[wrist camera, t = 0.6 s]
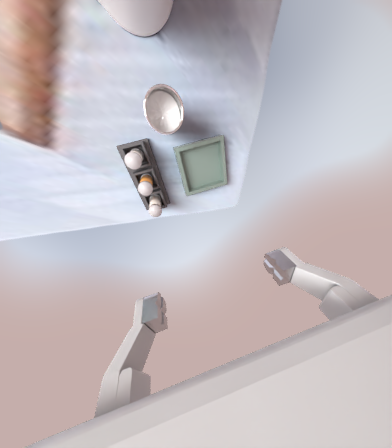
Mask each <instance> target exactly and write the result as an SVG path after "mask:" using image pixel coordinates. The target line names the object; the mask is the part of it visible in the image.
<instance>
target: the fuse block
mask: <svg viewBox="0 0 392 448" xmlns="http://www.w3.org/2000/svg"><path fill="white" fill-rule="evenodd" d="M116 147H117V149H118V151H119V153H120V155H121V157H122V159H123V161H124V164H125V160H124V159H125V156H126V154H127V153H129V152H130V151H131V150H132V149H134V148H138V149H140V150H141V151H142V152H143V154H144V159H143V161H142V164H141V166H140V168H138V169H131V168H129V167H128V166H127V165H126V164H125V166H126V168H127V170H128V172H129V174H130V176H131V178H132V180H133V182H134V184H135V186H136V189H137V191H138V186H139V183H140V180H141V176H142V174H144V173H149V174H150V175H151V176H152V177H153V185H152V186H153V191H152V193H151V194H150V195H148V196H144V195H142V194H140V192H139V191H138V193H139V195H140V197H141V199H142V201H143V203H144V205H145V207H146V209H147V210H149V205H150V196H151V195H154V194H158V195H159V196H160V198H161V208H165V207H167V204H169V203H170V201H169V198H168V196H167V193H166V190H165V187H164V184H163V181H162V179H161V176H160V173H159V170H158V167H157V164H156V162H155V159H154V156H153V153H152V150H151V147H150V145H149V142H148V139H147V138H146V139H143V140H139V141H135V142H131V143H127V144H123V145H119V146H116Z"/></svg>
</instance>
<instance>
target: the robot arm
mask: <svg viewBox="0 0 392 448" xmlns="http://www.w3.org/2000/svg"><path fill="white" fill-rule="evenodd" d="M97 1H98V2H99V3H100V4H101V5H102V6H103V7H104V9H105V10H106V11H107V12H108V14H109V15H110V16H111V17H112V18H113V19H114V21H115V22H116V23H118V24H119V25H120V26H121V27H122V28H124V29H125V30H126V31H128V32H130V33H132V34H134V35H138V36H150V35H153V34H155V33H157V32H158V31H159V30H161V28H162V27H163V26H164V25H165V23H166V22H167V20H168V18H169V15H170V12H171V9H172V5H173V0H97ZM264 257H265V258H266V259H265V260H264V266H265V268H266V270H267V271H268V272H269V273H270V274H273V279H274V280H275V281H276V282H277V283H278V285H279V286H280V285H283V284H286V283H289V282H290V283H292V284H294V285H296V286H297V287H299V288H301V289H303V290H305V291H306V292H308V293H310V294H311V295H313V296H315V297H317V298H319V299H321V300H322V302H321V304H320V305H319V309H320V310H321V311H322V312H323V313H324V314H325V315H326V316H327V317H328V319H329V321H327V322H325V323H322V324H320V325H318V326H315V327H313V328H310V329H308V330H305V331H303V332H301V333H298V334H296V335H293V336H291V337H288V338H286V339H284V340H281V341H279V342H276V343H274V344H272V345H269V346H267V347H265V348H262V349H260V350H257V351H255V352H252V353H250V354H248V355H245V356H243V357H240V358H238V359H236V360H233V361H231V362H228V363H226V364H224V365H221V366H219V367H216V368H214V369H212V370H209V371H207V372H204V373H202V374H200V375H197V376H195V377H192V378H190V379H188V380H185V381H183V382H180V383H178V384H175V385H173V386H171V387H168V388H166V389H163V390H161V391H159V392H156V393H154V394H151V395H150V376H149V375H148V374H146V373H143V372H142V370H143V367H144V365H145V362H146V359H147V356H148V354H149V351H150V348H151V346H152V343H153V340H154V338H155V333H158V332H160V331H163V330H165V329H167V317H166V316H165V313H166V304H165V301H164V299H163V297H161V295H160V293H159V292H158V293H155V294H152V295H149V296H146V297H143V298H141V299H138V300H137V301H136V304H135V313H134V321H133V328H131V329H130V330H129V332H128V334H127V336H126V337H125V339H124V341H123V343H122V344H121V346H120V348H119V350H118V352H117V353H116V355H115V357H114V358H113V360H112V362H111V364H110V365H109V367H108V369H107V371H106V373H105V374H104V376H103V379H102V384H101V389H100V393H99V398H98V403H97V407H96V412H95V417H94V419H91V420H89V421H86V422H84V423H82V424H79V425H77V426H74V427H72V428H70V429H67V430H65V431H62V432H60V433H57V434H55V435H53V436H50V437H48V438H46V439H43V440H41V441H38V442H36V443H33V444H32V445H29V446H26V447H24V448H392V295H390V296H387V297H385V298H382V299H380V300H379V299H377V298H376V297H374V296H373V295H372V294H371V293H369V292H368V291H367V290H365V289H364V288H363V287H361V286H360V285H359V284H357V283H356V282H355V281H353V280H352V279H349V278H346V277H344V276H341V275H339V274H336V273H333V272H330V271H328V270H325V269H322V268H319V267H317V266H314V265H311V264H308V263H303V262H302V261H301V260H300V259H299V258H297V257H296V256H295V255H294V254H293V253H292V252H291V251H289V250H288V249H287V248H285V247H283V248H281V249H277V250H274V251H272V252H269V253H266V254H265V256H264Z"/></svg>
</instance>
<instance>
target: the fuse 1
mask: <svg viewBox="0 0 392 448" xmlns="http://www.w3.org/2000/svg"><path fill="white" fill-rule="evenodd" d="M143 159H144V154H143V152H142V151H141V150H140V149H138V148H134V149H132V150H131V151H130V152H129V153H127V154H126V156H125V159H124V160H125V164H126V165H127V166H128V167H129V168H131V169H138V168H140V166H141V164H142V161H143Z"/></svg>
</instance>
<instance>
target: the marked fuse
mask: <svg viewBox="0 0 392 448" xmlns="http://www.w3.org/2000/svg"><path fill="white" fill-rule="evenodd" d="M152 185H153V177H152V176H151V175H150V174H149V173H144V174H142V176H141V180H140V183H139V186H138V191H139V192H140V194H142V195H144V196H148V195H150V194H151V193H152V191H153V186H152Z"/></svg>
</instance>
